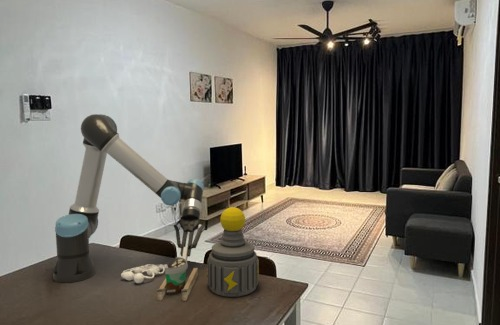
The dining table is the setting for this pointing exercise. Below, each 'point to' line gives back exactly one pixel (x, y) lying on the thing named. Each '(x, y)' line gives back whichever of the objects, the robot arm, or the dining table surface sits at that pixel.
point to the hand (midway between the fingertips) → (183, 263)
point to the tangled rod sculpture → (138, 275)
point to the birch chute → (185, 291)
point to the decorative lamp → (233, 259)
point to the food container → (176, 276)
